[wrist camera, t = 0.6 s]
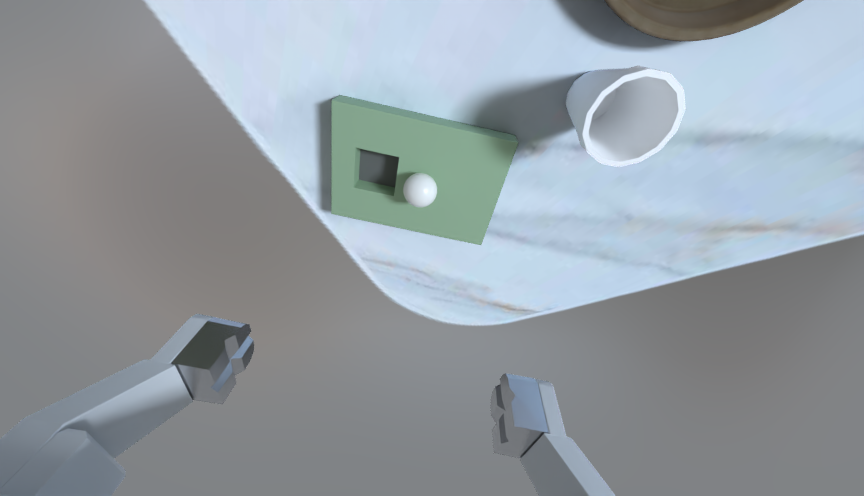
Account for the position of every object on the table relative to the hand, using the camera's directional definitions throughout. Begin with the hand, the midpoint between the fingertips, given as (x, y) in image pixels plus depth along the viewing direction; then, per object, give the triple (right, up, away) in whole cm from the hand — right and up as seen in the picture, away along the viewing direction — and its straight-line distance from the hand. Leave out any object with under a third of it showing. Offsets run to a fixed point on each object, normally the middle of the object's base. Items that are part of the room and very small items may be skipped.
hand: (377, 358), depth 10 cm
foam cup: (+23, +24, +32) cm, 46 cm away
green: (0, +16, +40) cm, 43 cm away
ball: (0, +12, +36) cm, 38 cm away
